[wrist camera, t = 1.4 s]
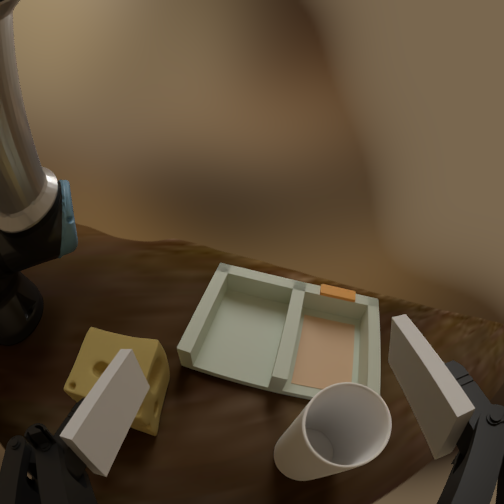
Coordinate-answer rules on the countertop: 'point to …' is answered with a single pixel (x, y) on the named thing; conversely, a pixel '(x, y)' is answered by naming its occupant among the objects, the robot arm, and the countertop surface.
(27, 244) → the robot arm
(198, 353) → the tray
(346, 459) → the cup
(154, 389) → the cheese
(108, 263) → the countertop surface
